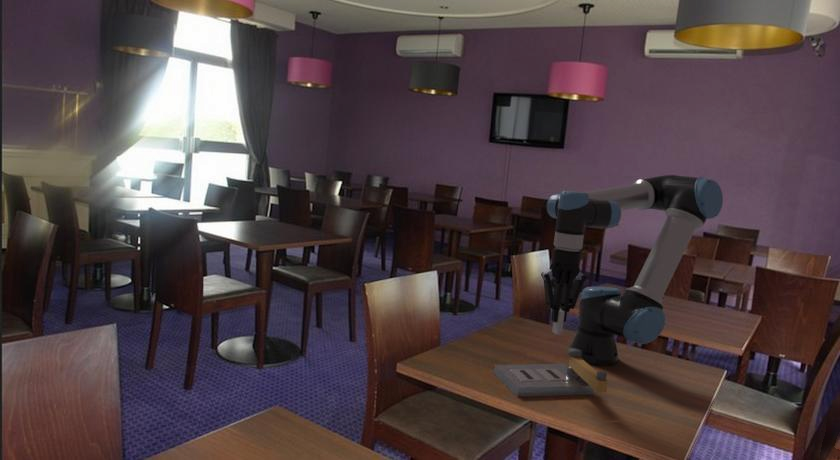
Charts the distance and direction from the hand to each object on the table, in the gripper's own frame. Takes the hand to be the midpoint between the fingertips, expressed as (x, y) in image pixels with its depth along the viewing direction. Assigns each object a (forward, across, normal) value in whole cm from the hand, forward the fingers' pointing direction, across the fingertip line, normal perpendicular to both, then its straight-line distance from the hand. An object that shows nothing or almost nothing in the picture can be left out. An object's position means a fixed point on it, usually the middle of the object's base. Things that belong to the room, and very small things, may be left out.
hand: (556, 333), depth 164 cm
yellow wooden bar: (+9, -5, +8) cm, 14 cm away
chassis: (+15, +3, 0) cm, 15 cm away
